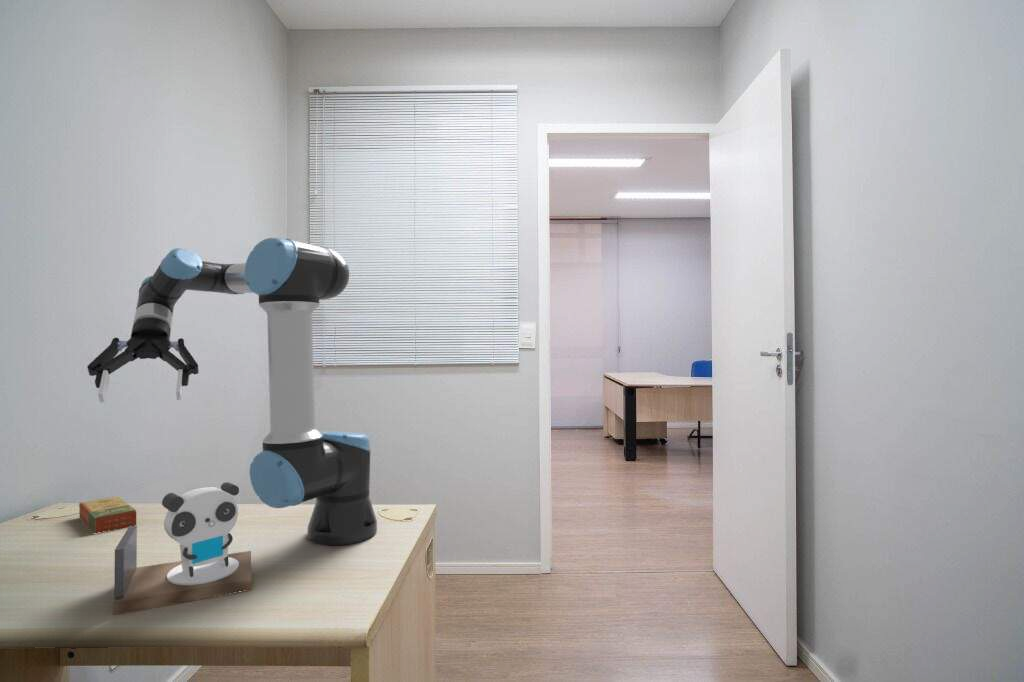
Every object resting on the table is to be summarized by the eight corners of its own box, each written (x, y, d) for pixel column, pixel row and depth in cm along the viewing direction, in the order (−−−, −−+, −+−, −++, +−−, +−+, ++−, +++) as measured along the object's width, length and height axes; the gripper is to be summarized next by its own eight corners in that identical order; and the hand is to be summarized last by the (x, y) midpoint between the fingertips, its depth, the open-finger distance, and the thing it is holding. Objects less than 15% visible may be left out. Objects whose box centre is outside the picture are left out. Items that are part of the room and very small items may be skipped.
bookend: (136, 569, 99) (136, 525, 99) (123, 598, 88) (123, 548, 88) (128, 570, 98) (128, 526, 98) (114, 599, 87) (114, 550, 87)
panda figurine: (175, 592, 90) (176, 502, 90) (153, 573, 97) (154, 489, 97) (249, 570, 99) (250, 488, 99) (224, 553, 106) (224, 477, 106)
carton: (119, 512, 138) (119, 495, 138) (137, 526, 128) (137, 508, 128) (78, 519, 132) (78, 502, 132) (93, 535, 121) (94, 516, 121)
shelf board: (250, 560, 108) (250, 550, 108) (251, 590, 95) (251, 578, 95) (129, 579, 99) (129, 568, 99) (112, 614, 86) (112, 602, 86)
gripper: (213, 338, 136) (209, 405, 122) (89, 337, 125) (70, 410, 111) (212, 317, 131) (207, 383, 118) (83, 313, 120) (62, 387, 106)
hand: (140, 397), depth 114 cm, fingers open, 13 cm apart
